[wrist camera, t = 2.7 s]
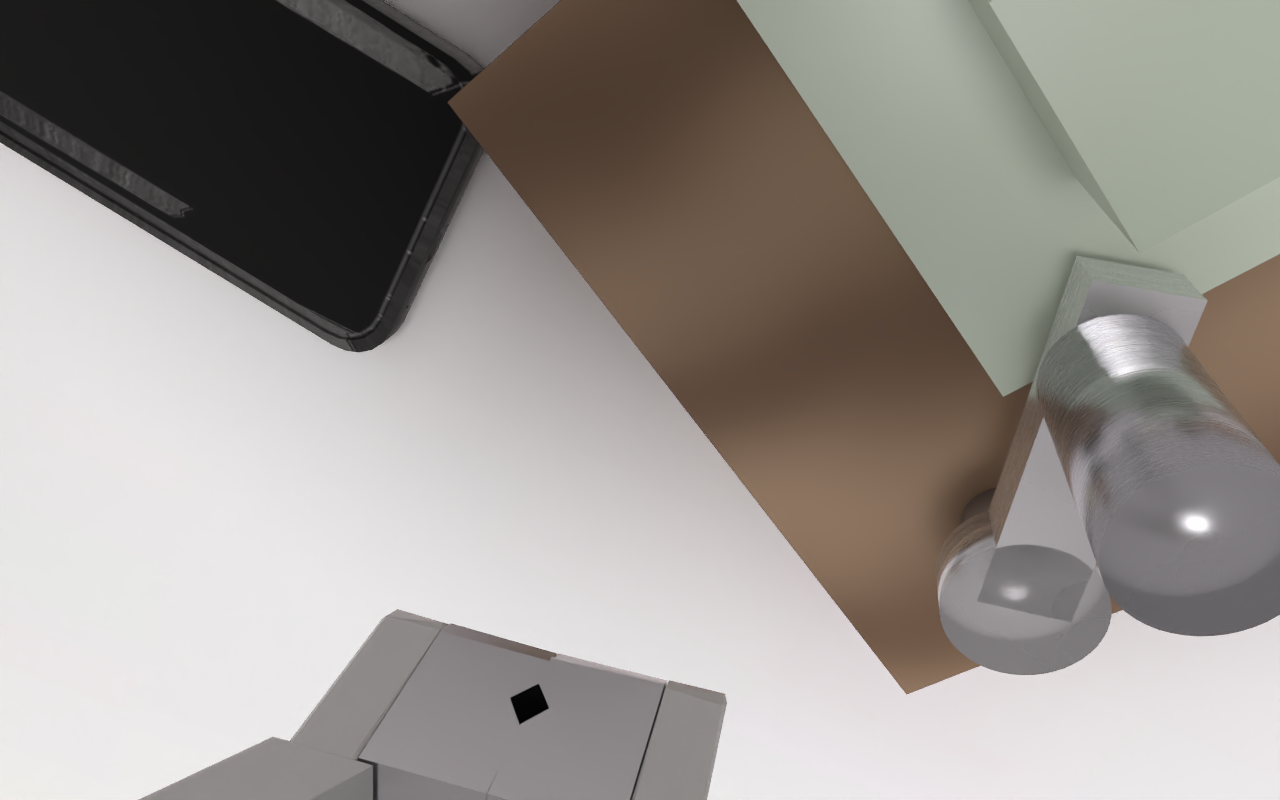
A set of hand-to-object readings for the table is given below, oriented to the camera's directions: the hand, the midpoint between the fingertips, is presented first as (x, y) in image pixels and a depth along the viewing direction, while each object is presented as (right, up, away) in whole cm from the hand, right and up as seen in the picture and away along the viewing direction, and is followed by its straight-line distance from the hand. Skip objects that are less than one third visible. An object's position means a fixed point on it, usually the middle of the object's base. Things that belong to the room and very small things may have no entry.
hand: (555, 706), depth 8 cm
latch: (+8, +2, +8) cm, 11 cm away
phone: (-10, +11, +14) cm, 20 cm away
